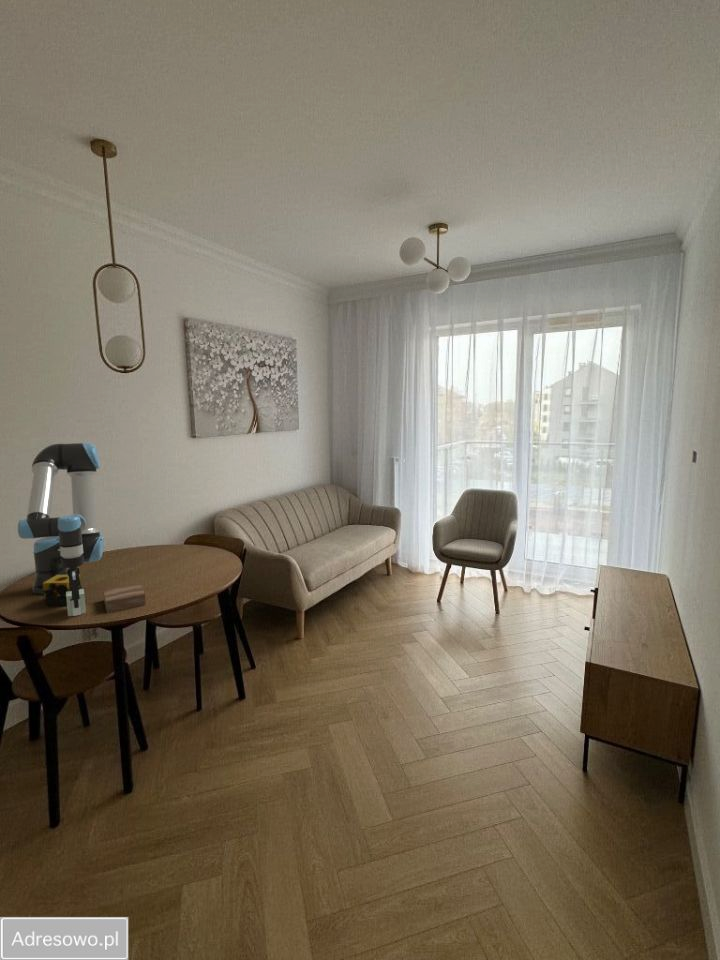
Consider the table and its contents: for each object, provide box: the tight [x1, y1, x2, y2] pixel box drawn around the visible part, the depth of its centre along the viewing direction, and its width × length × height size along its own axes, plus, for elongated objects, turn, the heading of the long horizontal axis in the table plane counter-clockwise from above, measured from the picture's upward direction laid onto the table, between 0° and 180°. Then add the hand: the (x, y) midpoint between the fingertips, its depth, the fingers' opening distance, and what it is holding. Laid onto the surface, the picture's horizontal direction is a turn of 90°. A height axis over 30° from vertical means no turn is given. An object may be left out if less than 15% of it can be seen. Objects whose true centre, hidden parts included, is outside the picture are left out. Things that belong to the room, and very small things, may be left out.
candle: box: [43, 574, 83, 606], centre depth 192 cm, size 10×10×10 cm
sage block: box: [66, 588, 87, 617], centre depth 182 cm, size 6×6×8 cm
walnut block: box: [102, 583, 146, 613], centre depth 192 cm, size 14×14×5 cm
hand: (76, 611), depth 183 cm, fingers open, 7 cm apart
